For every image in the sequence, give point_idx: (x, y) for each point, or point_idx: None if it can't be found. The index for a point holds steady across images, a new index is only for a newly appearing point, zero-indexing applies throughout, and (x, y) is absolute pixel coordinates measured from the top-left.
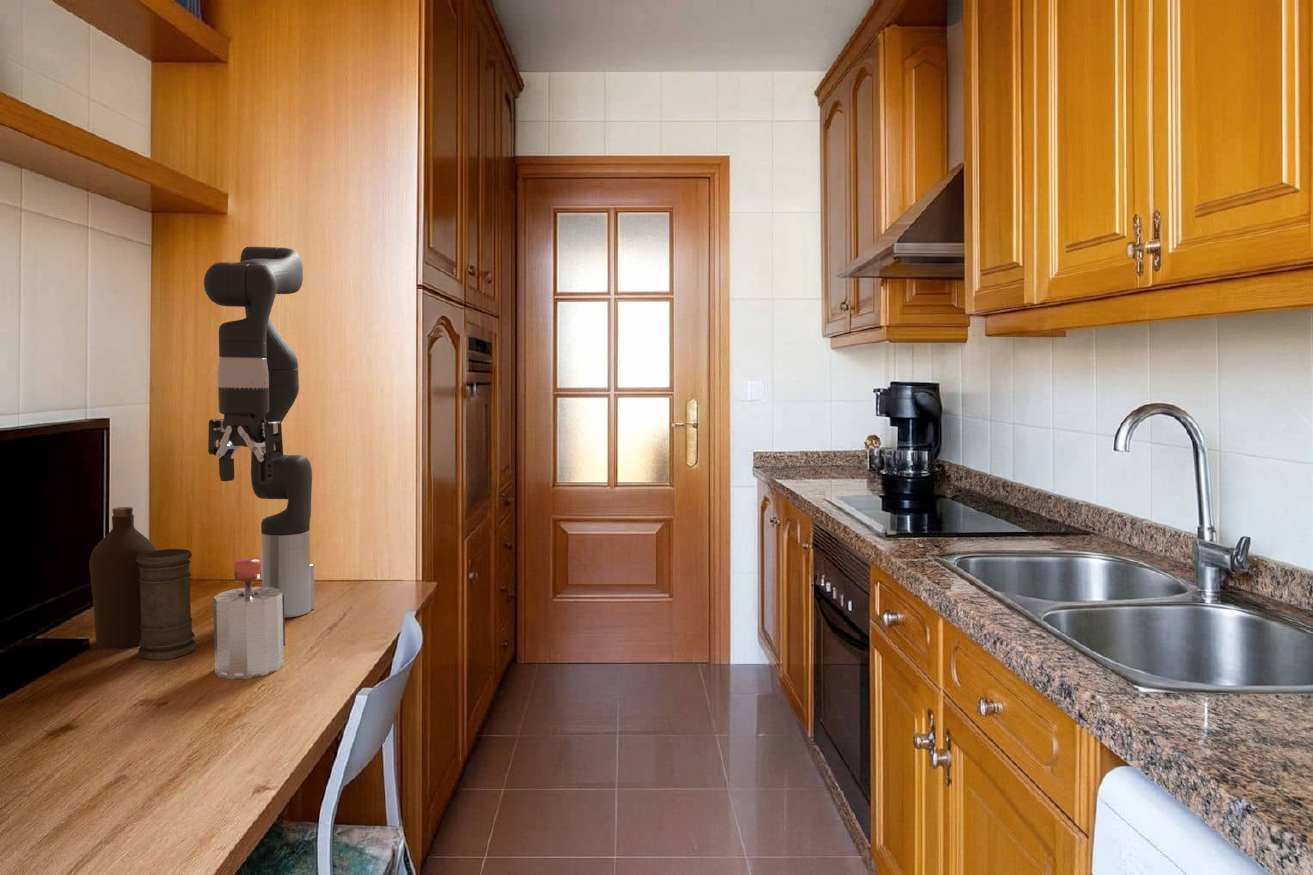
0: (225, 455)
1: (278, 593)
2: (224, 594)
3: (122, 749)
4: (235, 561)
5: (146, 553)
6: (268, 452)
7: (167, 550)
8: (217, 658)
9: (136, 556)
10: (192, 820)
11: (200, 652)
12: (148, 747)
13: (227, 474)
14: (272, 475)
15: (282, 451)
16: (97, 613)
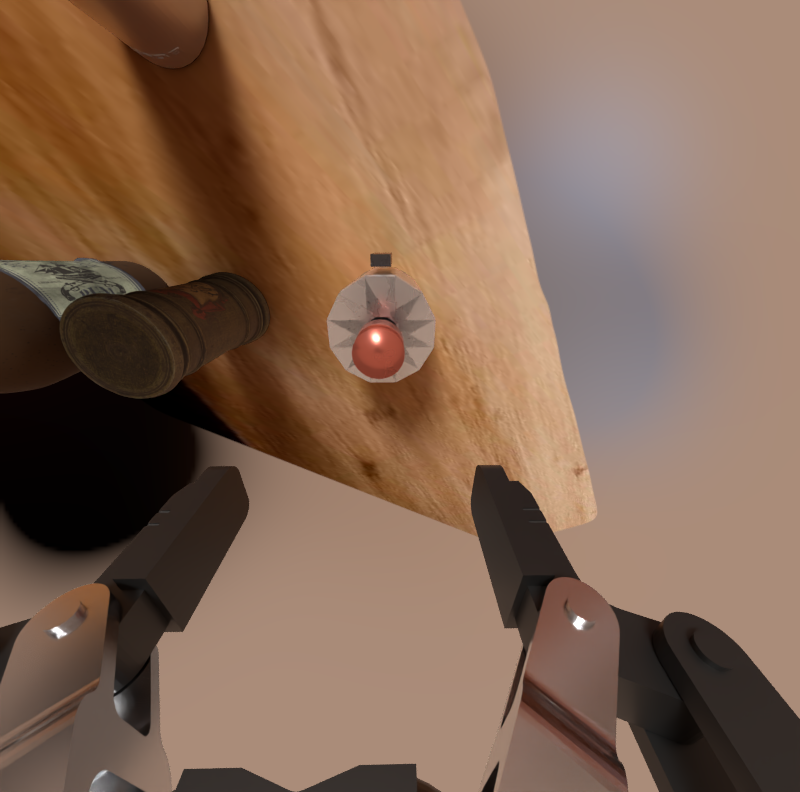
0: (144, 654)
1: (425, 306)
2: (346, 352)
3: (442, 471)
4: (367, 374)
5: (93, 369)
6: (664, 733)
7: (84, 328)
8: None
9: (43, 348)
10: (559, 503)
11: (273, 290)
12: (457, 463)
13: (227, 517)
14: (534, 503)
15: (765, 685)
16: None
